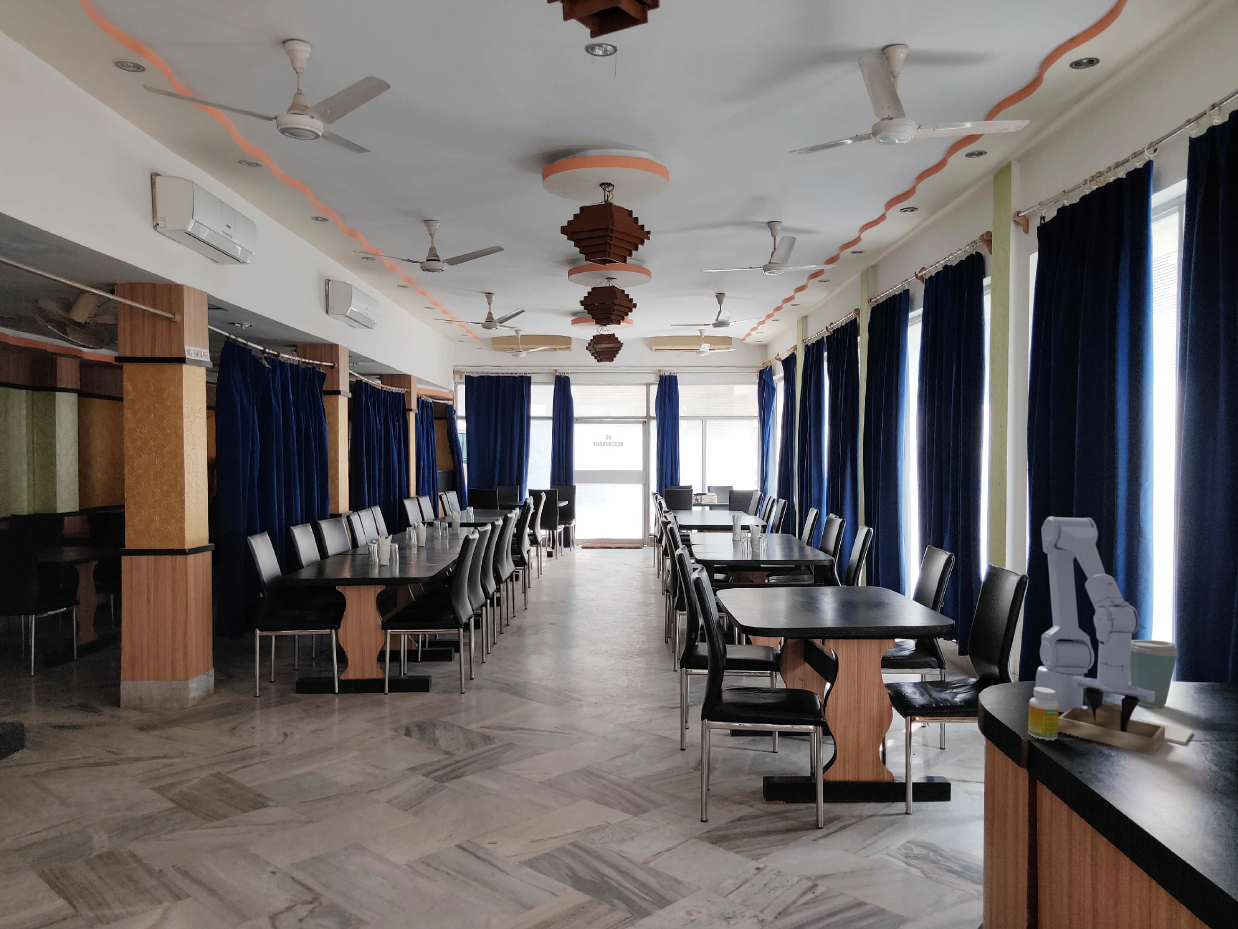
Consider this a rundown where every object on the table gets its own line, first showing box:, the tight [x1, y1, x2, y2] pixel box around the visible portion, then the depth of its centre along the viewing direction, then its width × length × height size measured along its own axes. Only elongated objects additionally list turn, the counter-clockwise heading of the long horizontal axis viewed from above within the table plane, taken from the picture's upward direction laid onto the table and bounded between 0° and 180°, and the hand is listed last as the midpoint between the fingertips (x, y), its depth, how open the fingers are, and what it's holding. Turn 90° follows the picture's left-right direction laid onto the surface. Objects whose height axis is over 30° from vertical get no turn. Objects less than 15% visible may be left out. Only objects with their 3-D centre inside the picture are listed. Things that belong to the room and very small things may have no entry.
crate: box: [1058, 706, 1166, 756], centre depth 169 cm, size 17×11×3 cm, turn 47°
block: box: [1095, 701, 1122, 731], centre depth 169 cm, size 4×8×6 cm, turn 137°
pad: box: [1136, 718, 1194, 746], centre depth 172 cm, size 10×10×1 cm
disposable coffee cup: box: [1129, 639, 1179, 709], centre depth 192 cm, size 11×11×15 cm
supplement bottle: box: [1027, 687, 1059, 741], centre depth 167 cm, size 5×5×10 cm
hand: (1110, 728), depth 169 cm, fingers closed on block, 4 cm apart
